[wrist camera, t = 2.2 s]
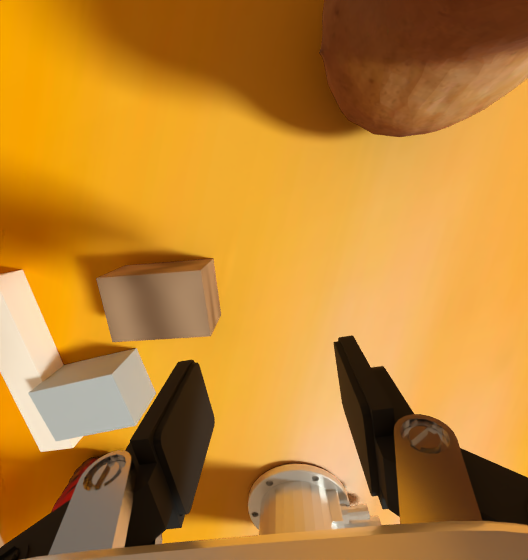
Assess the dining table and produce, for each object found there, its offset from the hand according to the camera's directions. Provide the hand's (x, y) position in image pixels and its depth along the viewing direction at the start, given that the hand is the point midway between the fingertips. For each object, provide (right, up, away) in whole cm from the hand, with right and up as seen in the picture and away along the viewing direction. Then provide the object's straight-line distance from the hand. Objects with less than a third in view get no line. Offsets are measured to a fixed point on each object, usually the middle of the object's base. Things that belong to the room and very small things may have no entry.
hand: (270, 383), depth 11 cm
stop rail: (-25, -5, +21) cm, 33 cm away
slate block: (-18, -7, +21) cm, 29 cm away
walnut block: (-10, +3, +18) cm, 21 cm away
